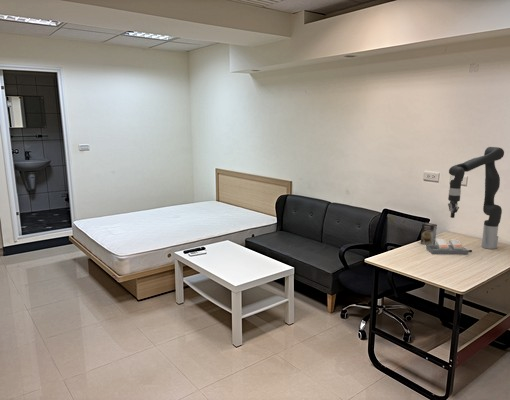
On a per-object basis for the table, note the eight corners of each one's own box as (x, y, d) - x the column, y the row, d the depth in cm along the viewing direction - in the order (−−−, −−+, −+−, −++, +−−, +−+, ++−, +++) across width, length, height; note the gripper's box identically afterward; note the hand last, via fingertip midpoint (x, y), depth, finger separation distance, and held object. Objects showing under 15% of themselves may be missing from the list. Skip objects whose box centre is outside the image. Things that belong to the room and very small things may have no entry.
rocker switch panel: (467, 249, 287) (468, 244, 287) (475, 254, 276) (476, 249, 275) (426, 248, 289) (426, 243, 289) (432, 254, 278) (432, 248, 277)
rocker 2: (457, 241, 286) (457, 239, 285) (462, 249, 277) (463, 246, 276) (448, 241, 286) (449, 239, 285) (454, 249, 277) (454, 246, 276)
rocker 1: (443, 241, 286) (443, 238, 285) (448, 249, 278) (448, 247, 277) (435, 241, 287) (435, 238, 286) (439, 249, 278) (440, 247, 277)
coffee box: (420, 243, 302) (421, 223, 299) (423, 241, 306) (425, 222, 303) (432, 246, 295) (433, 225, 292) (435, 244, 300) (437, 224, 296)
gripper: (464, 195, 270) (461, 219, 274) (455, 192, 283) (453, 215, 287) (453, 195, 271) (450, 219, 274) (445, 192, 284) (443, 215, 287)
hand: (452, 217), depth 280 cm, fingers closed
